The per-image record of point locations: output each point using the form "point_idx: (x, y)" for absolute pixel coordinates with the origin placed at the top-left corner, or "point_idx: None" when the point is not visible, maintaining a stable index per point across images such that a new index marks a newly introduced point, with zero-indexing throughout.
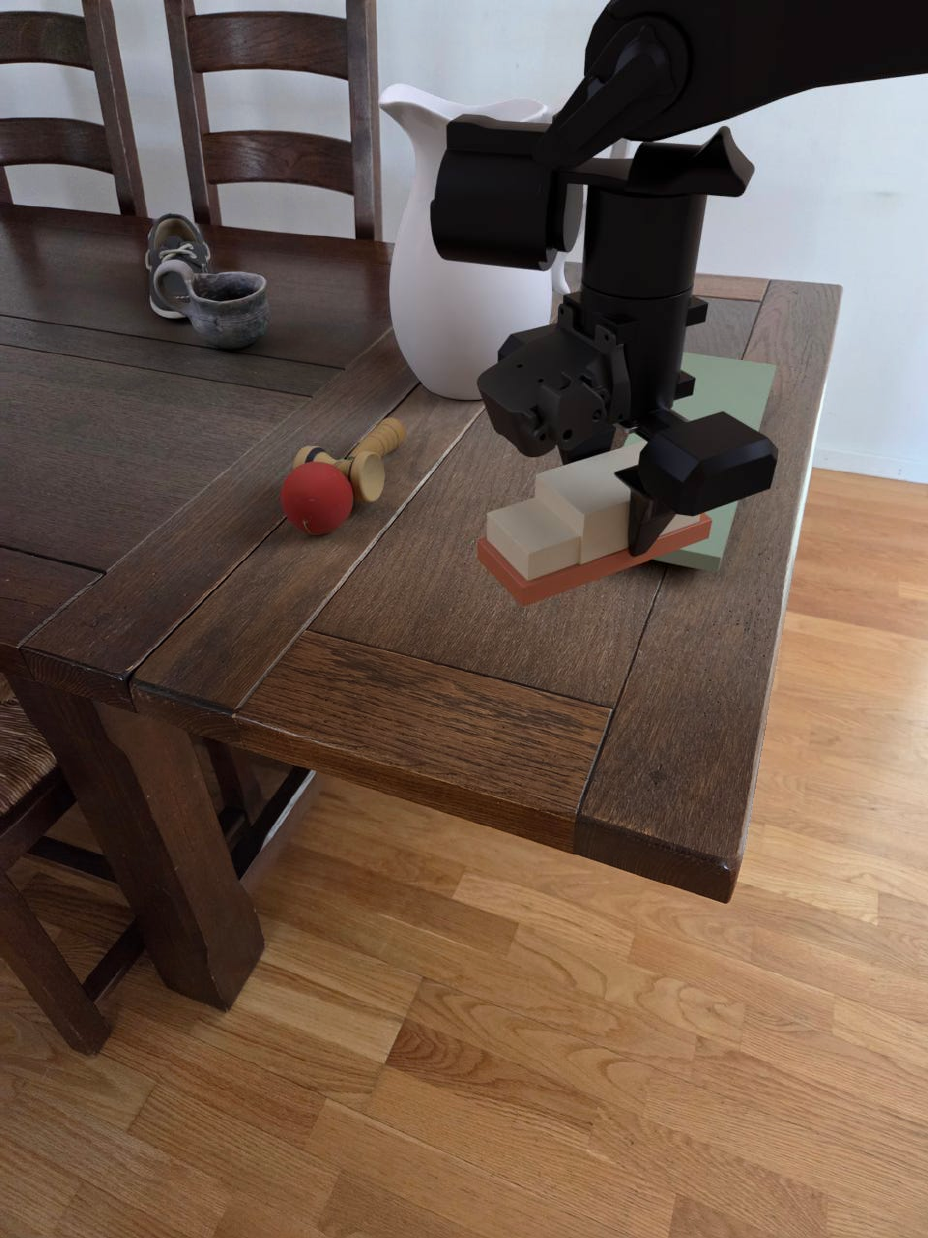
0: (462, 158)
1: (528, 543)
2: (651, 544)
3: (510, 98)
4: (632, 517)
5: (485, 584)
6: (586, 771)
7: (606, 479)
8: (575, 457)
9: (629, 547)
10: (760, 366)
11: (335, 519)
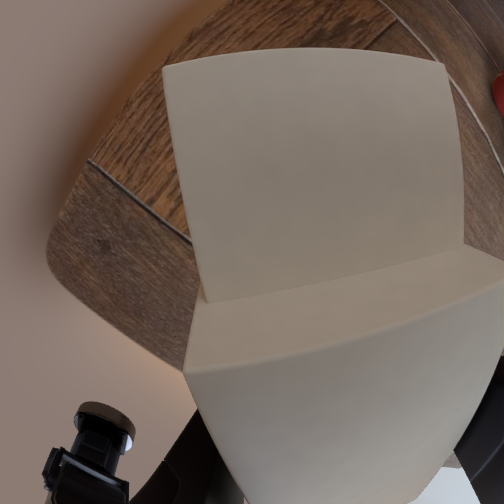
0: None
1: (227, 84)
2: None
3: None
4: (195, 461)
5: None
6: (124, 184)
7: (375, 463)
8: (490, 396)
9: None
10: (452, 452)
11: (502, 98)
